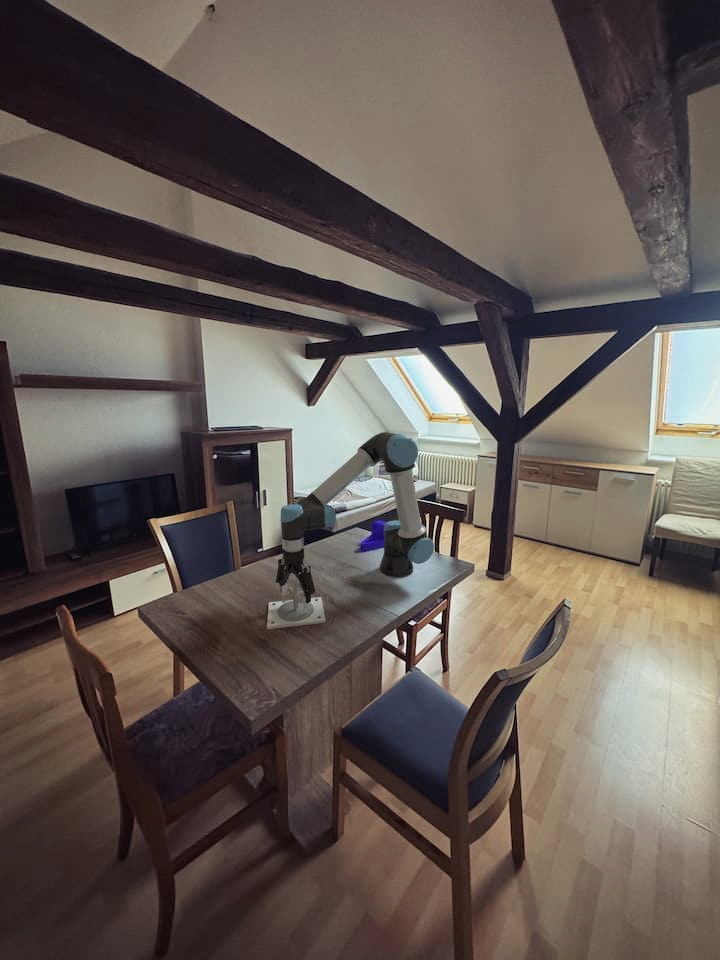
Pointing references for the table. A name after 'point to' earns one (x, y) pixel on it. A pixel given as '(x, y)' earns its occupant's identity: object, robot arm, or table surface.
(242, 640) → the table surface
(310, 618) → the duct panel
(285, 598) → the pipe connector
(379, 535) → the bracket
